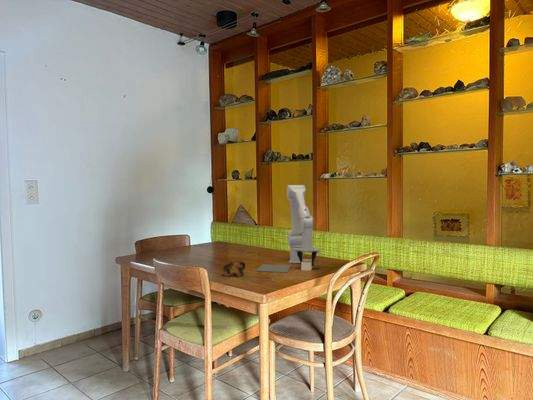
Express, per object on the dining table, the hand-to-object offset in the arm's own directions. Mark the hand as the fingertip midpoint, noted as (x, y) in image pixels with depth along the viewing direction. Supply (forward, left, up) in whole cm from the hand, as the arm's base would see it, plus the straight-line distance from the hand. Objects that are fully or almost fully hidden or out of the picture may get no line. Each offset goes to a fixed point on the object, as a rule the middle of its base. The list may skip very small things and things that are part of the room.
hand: (307, 265), depth 214 cm
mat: (+4, -17, -1) cm, 18 cm away
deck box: (0, 0, -1) cm, 1 cm away
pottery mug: (+21, -33, -2) cm, 39 cm away
